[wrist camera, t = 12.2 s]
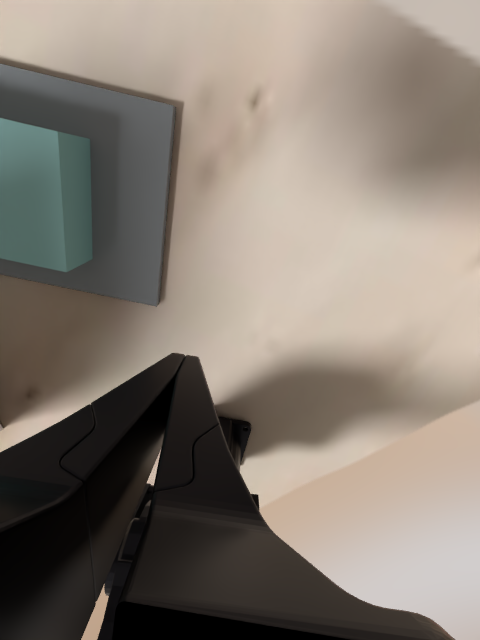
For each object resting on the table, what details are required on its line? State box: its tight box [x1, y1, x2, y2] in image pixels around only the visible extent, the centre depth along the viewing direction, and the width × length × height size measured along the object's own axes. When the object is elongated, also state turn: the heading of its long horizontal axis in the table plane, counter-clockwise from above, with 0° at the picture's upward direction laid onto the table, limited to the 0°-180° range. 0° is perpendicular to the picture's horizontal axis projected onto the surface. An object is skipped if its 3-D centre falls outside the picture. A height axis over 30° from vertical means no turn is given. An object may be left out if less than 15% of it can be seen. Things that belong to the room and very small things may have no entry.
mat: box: [0, 64, 176, 306], centre depth 18 cm, size 12×14×1 cm
